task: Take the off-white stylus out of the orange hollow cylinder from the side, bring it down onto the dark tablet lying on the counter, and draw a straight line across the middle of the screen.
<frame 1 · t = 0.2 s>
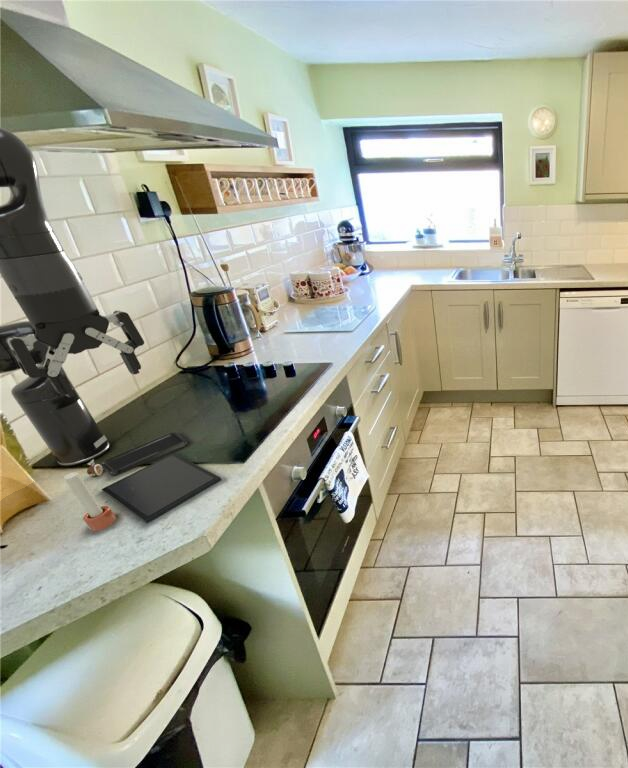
hand: (104, 383, 68), 29 cm above the worktop, tool pointing down, fingers open, 8 cm apart
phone: (147, 455, 101), on the worktop
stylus: (103, 523, 80), resting on orange hollow cylinder
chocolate: (98, 475, 95), on the worktop
orange hollow cylinder: (104, 524, 81), on the worktop
tablet: (163, 486, 90), on the worktop
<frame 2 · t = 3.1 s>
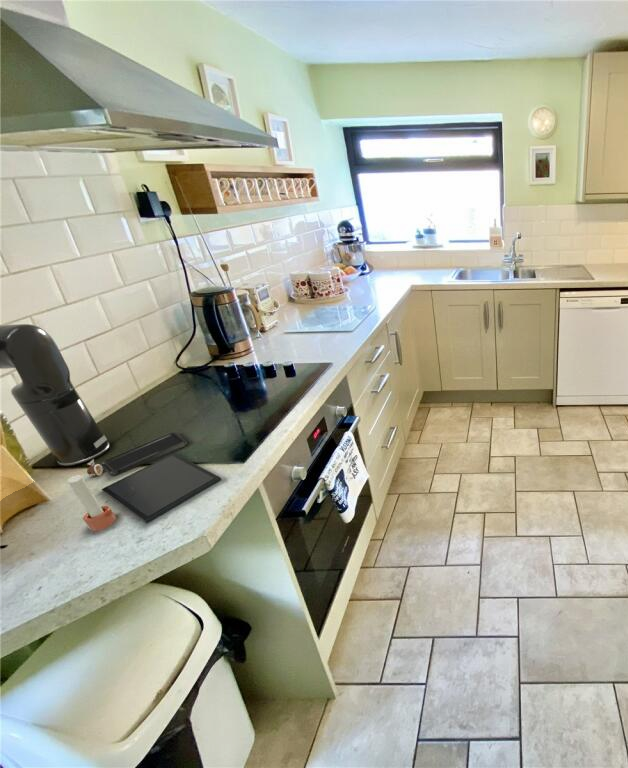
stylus: (103, 523, 80), resting on orange hollow cylinder, tilted 10°
everything else where it was.
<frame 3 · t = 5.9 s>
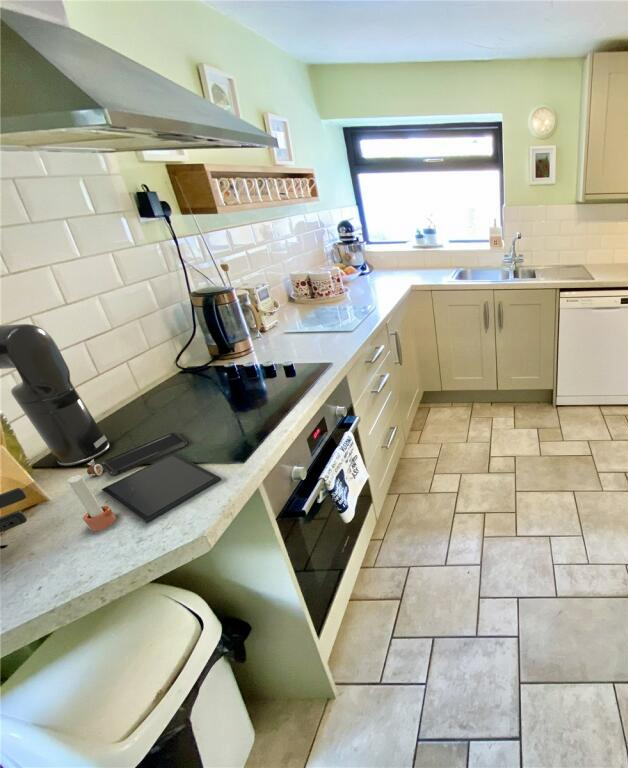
hand: (24, 503, 72), 10 cm above the worktop, tool horizontal, fingers open, 8 cm apart
nothing on the worktop moved.
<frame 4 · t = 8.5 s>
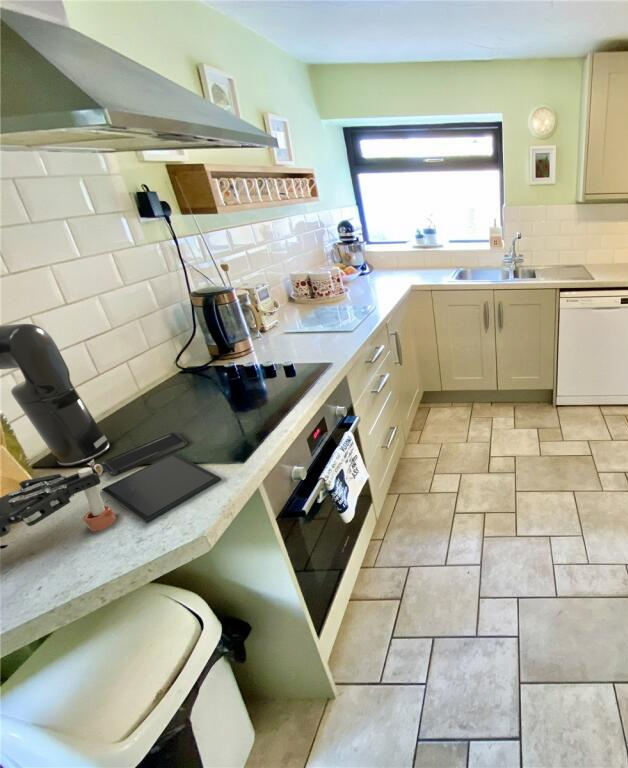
hand: (97, 475, 78), 10 cm above the worktop, tool horizontal, fingers closed on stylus, 2 cm apart
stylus: (102, 523, 80), resting on orange hollow cylinder, tilted 10°, touching gripper
everything else where it was.
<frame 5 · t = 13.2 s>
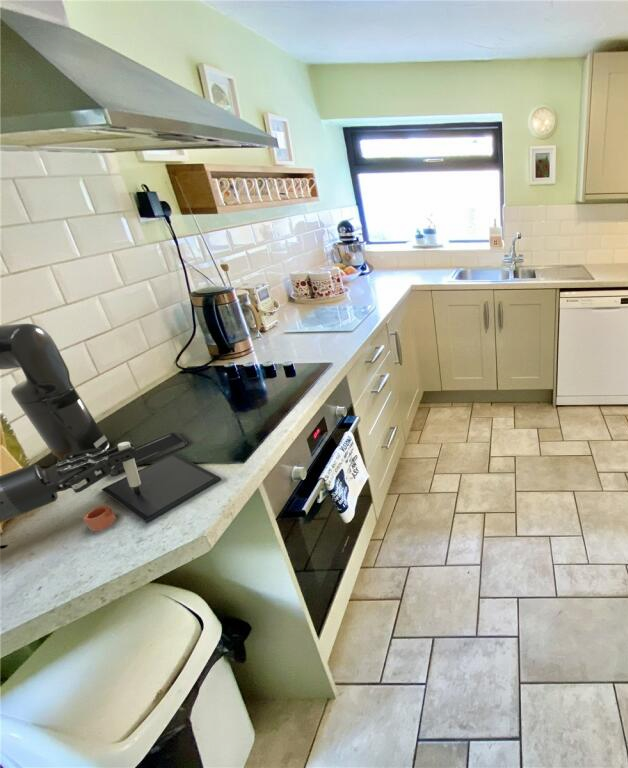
hand: (134, 448, 84), 11 cm above the worktop, tool horizontal, fingers closed on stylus, 2 cm apart
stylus: (138, 495, 86), point 1 cm above the worktop, tilted 10°, touching gripper, tablet
everything else where it was.
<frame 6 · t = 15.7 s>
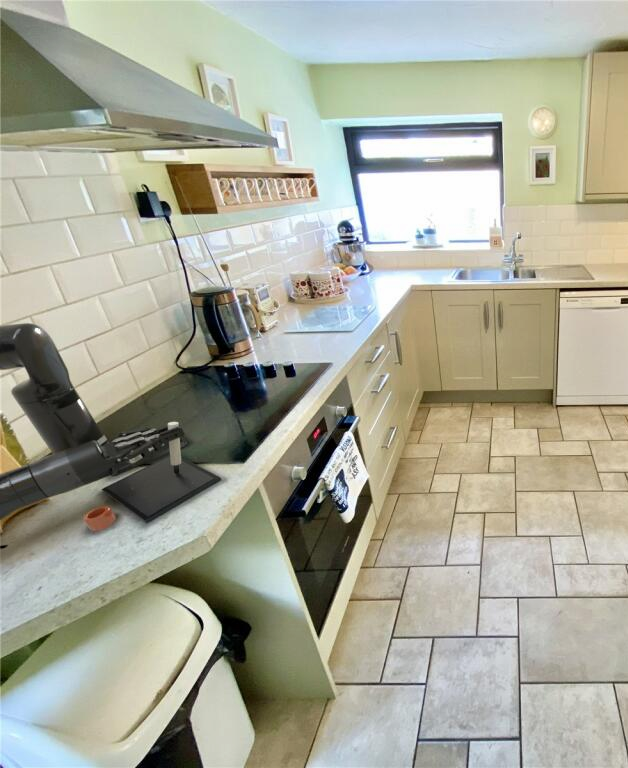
hand: (181, 428, 90), 11 cm above the worktop, tool horizontal, fingers closed on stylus, 2 cm apart
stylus: (176, 473, 92), point 1 cm above the worktop, tilted 16°, touching gripper
everything else where it was.
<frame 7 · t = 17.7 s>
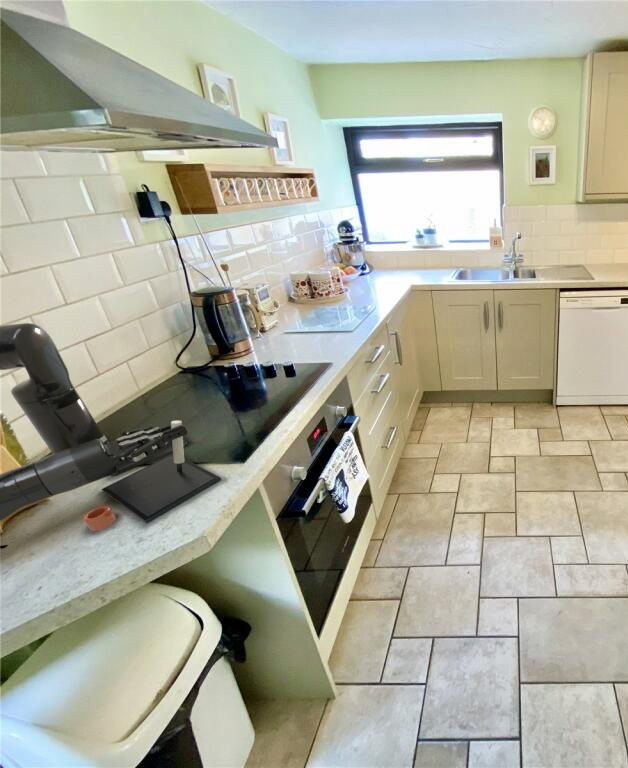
hand: (184, 427, 91), 11 cm above the worktop, tool horizontal, fingers closed on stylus, 2 cm apart
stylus: (179, 472, 92), point 1 cm above the worktop, tilted 16°, touching gripper, tablet
everything else where it was.
at the end: the gripper is holding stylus; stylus 1.2 cm from the target spot on the tablet, point 1.1 cm above the tablet's base; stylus moved 15.0 cm from its start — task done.
